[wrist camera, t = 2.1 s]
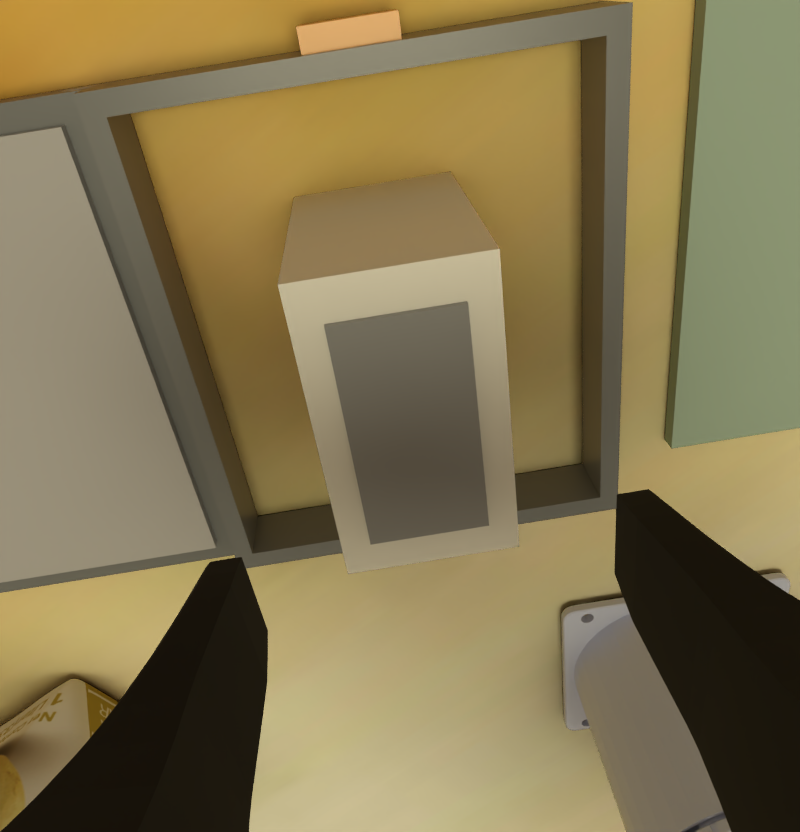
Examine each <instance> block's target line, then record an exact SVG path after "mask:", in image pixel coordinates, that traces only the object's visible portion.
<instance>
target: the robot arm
mask: <svg viewBox="0 0 800 832" xmlns="http://www.w3.org/2000/svg"><path fill="white" fill-rule="evenodd" d="M615 575H616V578H617V581H618V584H619V586H620V589H621V592H622V595H623V598H616V599H610V600H604V601H598V602H592V603H585V604H579V605H573V606H570V607H567V608H566V609H564V611H563V612H562V615H561V629H562V667H563V704H564V721H565V724H566V727H567V728H568V729H570V730H581V729H587V728H590V729H591V732H592V735H593V737H594V740H595V743H596V746H597V749H598V752H599V755H600V758H601V760H602V763H603V766H604V769H605V772H606V775H607V778H608V780H609V783H610V786H611V789H612V792H613V795H614V798H615V801H616V803H617V806H618V809H619V812H620V815H621V818H622V821H623V824H624V826H625V829H626V832H800V600H798V599H797V598H795V597H793V596H792V595H790V594H788V593H789V589H790V581H789V580H788V578H787V577H786V576H785V574H783V573H771V574H765V575H760V574H758V573H757V572H755V571H754V570H753V569H751V568H750V567H748V566H747V565H745V564H744V563H743V562H741V561H740V560H739V559H737V558H736V557H735V556H733V555H732V554H731V553H729V552H728V551H726V550H725V549H724V548H722V547H721V546H720V545H718V544H717V543H716V542H714V541H713V540H712V539H711V538H709V537H708V536H707V535H705V534H704V533H703V532H702V531H700V530H699V529H698V528H696V527H695V526H694V525H693V524H691V523H690V522H689V521H688V520H686V519H685V518H684V517H683V516H681V515H680V514H679V513H678V512H676V511H675V510H674V509H673V508H672V507H670V506H669V505H668V504H667V503H665V502H664V501H663V500H662V499H660V498H659V497H658V496H657V495H655V494H654V493H653V492H651V491H650V490H649V489H648V490H641V491H635V492H629V493H623V494H617V503H616V541H615ZM586 614H588V615H586ZM584 615H585V616H584ZM267 661H268V630H267V627H266V625H265V622H264V619H263V616H262V613H261V610H260V608H259V605H258V602H257V599H256V596H255V593H254V591H253V588H252V585H251V582H250V579H249V576H248V574H247V571H246V568H245V565H244V562H243V559H242V557H238V558H232V559H226V560H219V561H213V562H210V563H209V564H208V565H207V567H206V568H205V570H204V572H203V573H202V575H201V577H200V578H199V580H198V582H197V583H196V585H195V587H194V588H193V590H192V592H191V594H190V595H189V597H188V599H187V600H186V602H185V604H184V605H183V607H182V609H181V610H180V612H179V614H178V615H177V617H176V618H175V620H174V622H173V623H172V625H171V626H170V628H169V630H168V631H167V633H166V634H165V636H164V637H163V639H162V640H161V642H160V644H159V645H158V647H157V648H156V650H155V651H154V653H153V654H152V656H151V657H150V659H149V660H148V662H147V663H146V665H145V666H144V667H143V669H142V670H141V672H140V673H139V675H138V676H137V677H136V679H135V680H134V682H133V683H132V684H131V686H130V687H129V689H128V690H127V691H126V693H125V694H124V696H123V697H122V698H121V700H120V701H119V702H118V704H117V705H116V706H115V707H114V709H113V710H112V711H111V713H110V714H109V715H108V716H107V718H106V719H105V720H104V722H103V723H102V724H101V725H100V726H99V728H98V729H97V730H96V731H95V732H94V734H93V735H92V736H91V737H90V739H89V740H88V741H87V742H86V743H85V745H84V746H83V747H82V748H81V749H80V750H79V751H78V753H77V754H76V755H75V756H74V757H73V758H72V759H71V760H70V761H69V762H68V764H67V765H66V766H65V767H64V768H63V769H62V770H61V771H60V772H59V773H58V774H57V775H56V776H55V777H54V778H53V779H52V781H51V782H50V783H49V784H48V785H47V786H46V787H45V788H44V789H43V790H42V791H41V792H40V793H39V794H38V795H37V796H36V797H35V798H34V799H33V800H32V801H31V802H30V803H29V804H28V805H27V806H26V807H25V808H24V809H23V810H22V811H21V812H20V813H19V814H18V815H17V816H16V817H15V818H14V819H13V820H12V821H11V822H10V823H9V824H8V825H7V826H6V827H5V828H4V829H2V830H1V831H0V832H249V820H250V809H251V798H252V791H253V783H254V776H255V769H256V761H257V754H258V747H259V739H260V732H261V725H262V717H263V710H264V702H265V694H266V686H267Z"/></svg>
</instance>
